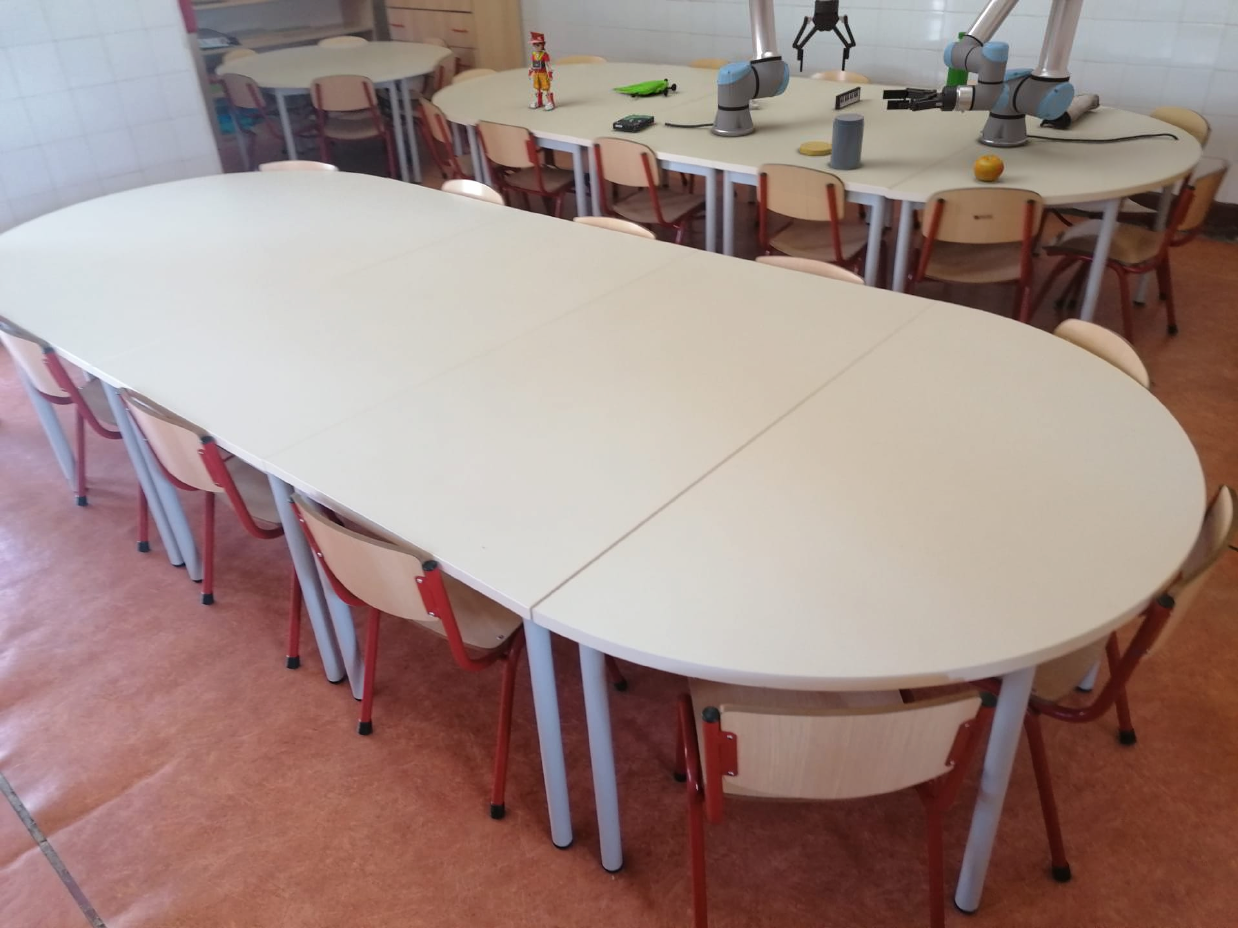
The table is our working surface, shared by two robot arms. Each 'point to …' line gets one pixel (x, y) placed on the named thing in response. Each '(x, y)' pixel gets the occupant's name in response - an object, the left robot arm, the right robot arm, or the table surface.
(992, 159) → the fruit
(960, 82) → the plastic bottle
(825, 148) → the lid
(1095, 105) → the rolled mat
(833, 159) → the jar
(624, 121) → the disk drive
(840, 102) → the midi keyboard
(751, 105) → the anatomical model
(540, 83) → the toy
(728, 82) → the left robot arm
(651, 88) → the toy
